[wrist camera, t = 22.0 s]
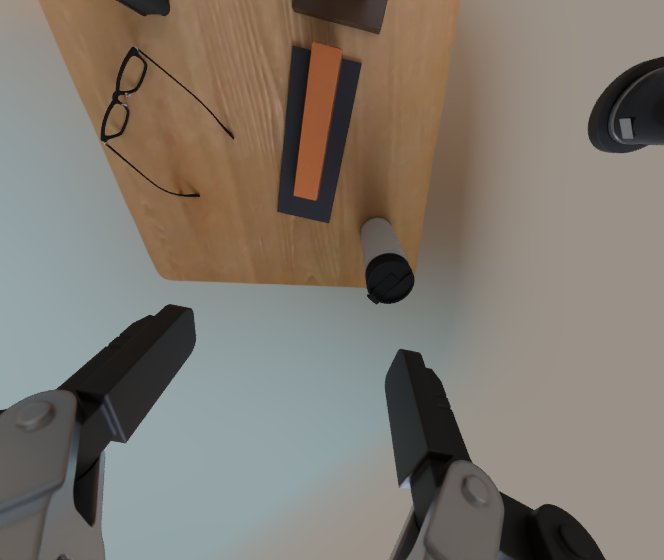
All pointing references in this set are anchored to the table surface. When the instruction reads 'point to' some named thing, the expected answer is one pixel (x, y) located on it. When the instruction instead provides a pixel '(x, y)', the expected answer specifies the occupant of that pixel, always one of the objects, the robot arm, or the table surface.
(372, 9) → the pedestal
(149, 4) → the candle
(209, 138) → the table surface
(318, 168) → the lever bar
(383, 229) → the travel mug
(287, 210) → the mat
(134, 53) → the eyeglasses
